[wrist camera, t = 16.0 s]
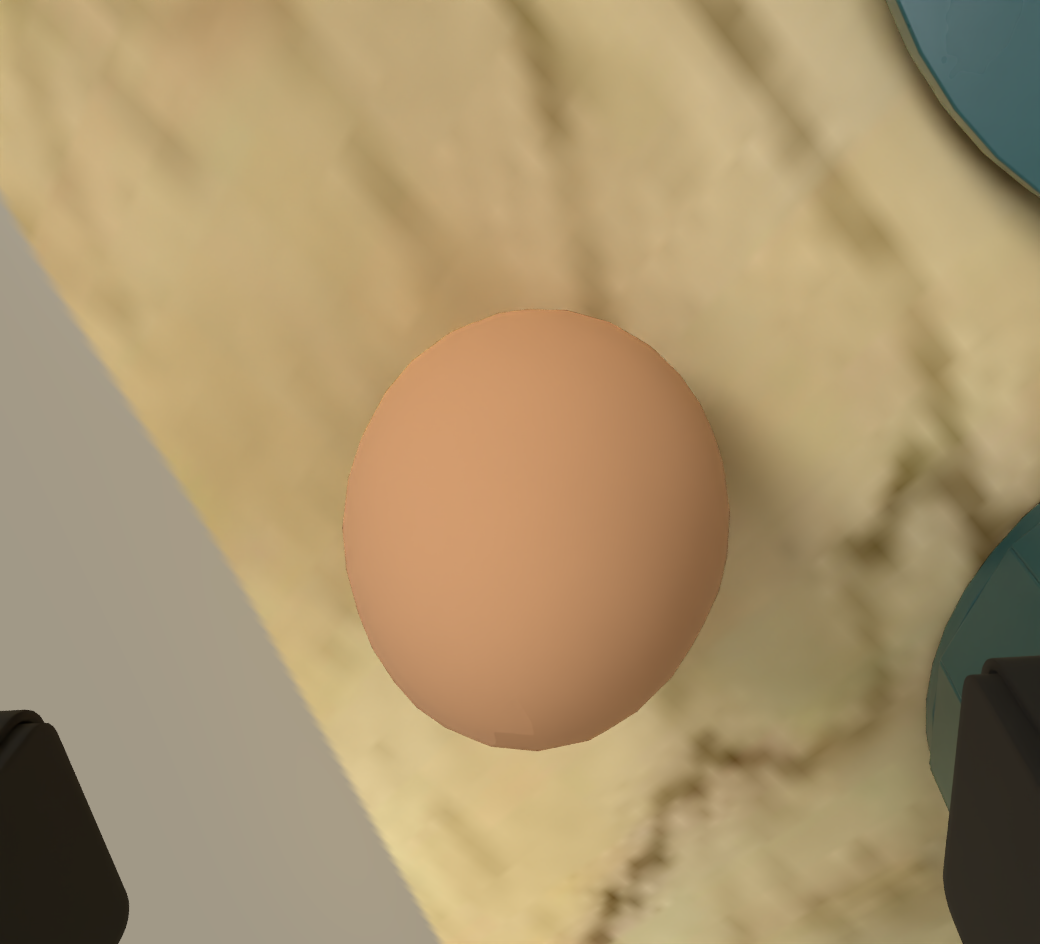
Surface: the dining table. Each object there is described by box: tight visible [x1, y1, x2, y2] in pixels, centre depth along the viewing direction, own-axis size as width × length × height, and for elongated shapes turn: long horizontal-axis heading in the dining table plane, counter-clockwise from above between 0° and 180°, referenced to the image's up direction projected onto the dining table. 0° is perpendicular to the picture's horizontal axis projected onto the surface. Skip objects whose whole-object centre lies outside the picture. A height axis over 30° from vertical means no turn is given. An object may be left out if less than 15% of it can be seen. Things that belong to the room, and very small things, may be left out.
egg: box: [342, 309, 730, 751], centre depth 14 cm, size 6×6×8 cm
